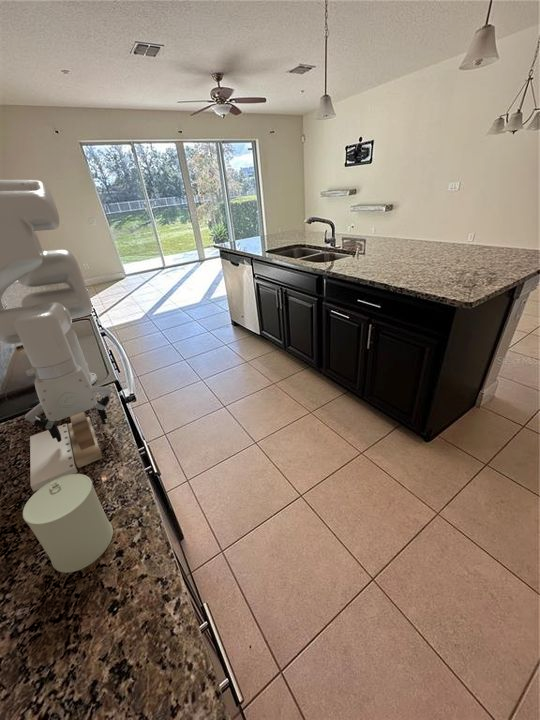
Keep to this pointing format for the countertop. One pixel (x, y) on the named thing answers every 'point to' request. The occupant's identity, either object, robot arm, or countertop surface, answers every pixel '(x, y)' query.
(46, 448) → the board
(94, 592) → the countertop surface
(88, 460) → the stub
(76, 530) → the can
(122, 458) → the countertop surface
